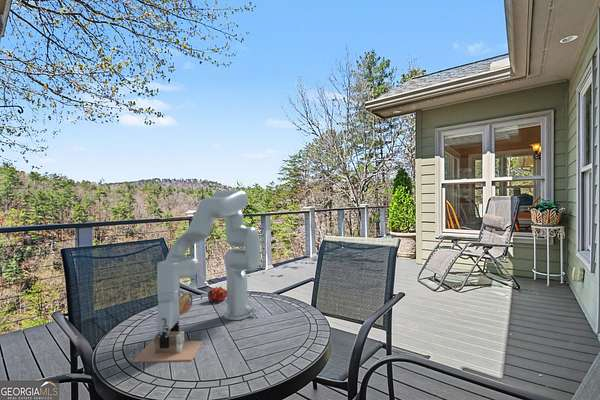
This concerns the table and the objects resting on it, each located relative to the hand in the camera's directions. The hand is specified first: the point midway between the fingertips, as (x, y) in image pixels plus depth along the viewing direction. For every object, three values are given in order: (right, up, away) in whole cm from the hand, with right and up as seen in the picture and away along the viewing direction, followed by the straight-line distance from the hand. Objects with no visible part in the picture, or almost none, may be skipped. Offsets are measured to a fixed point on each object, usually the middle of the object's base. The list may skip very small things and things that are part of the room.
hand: (169, 341), depth 116 cm
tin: (-10, -4, +40) cm, 41 cm away
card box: (0, -3, 0) cm, 3 cm away
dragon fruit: (+3, -3, +56) cm, 56 cm away
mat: (0, -4, 0) cm, 4 cm away
